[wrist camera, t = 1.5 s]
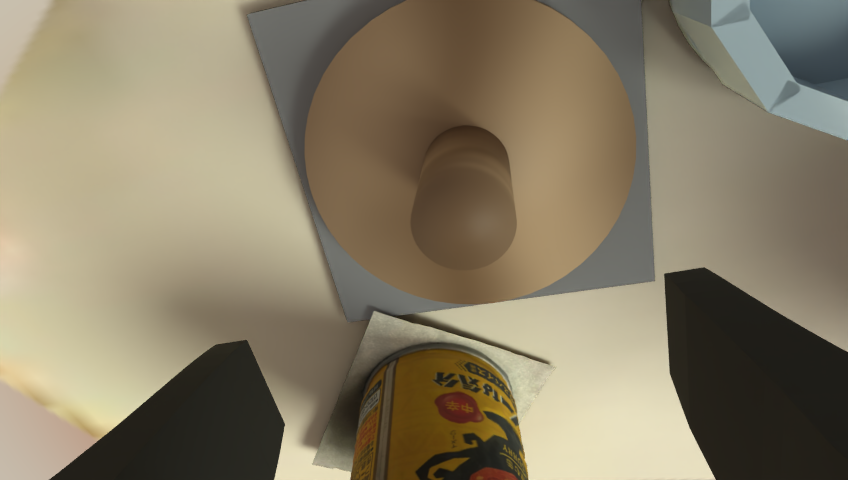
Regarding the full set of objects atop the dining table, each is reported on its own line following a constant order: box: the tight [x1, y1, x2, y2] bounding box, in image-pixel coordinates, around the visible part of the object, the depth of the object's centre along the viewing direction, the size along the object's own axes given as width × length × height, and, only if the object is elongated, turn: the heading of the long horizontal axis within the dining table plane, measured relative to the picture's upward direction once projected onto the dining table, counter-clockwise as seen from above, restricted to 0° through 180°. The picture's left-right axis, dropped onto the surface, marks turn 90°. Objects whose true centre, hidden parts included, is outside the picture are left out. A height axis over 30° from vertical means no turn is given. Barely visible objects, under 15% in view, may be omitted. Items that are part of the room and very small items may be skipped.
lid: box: [305, 0, 636, 305], centre depth 17 cm, size 10×10×5 cm
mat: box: [247, 0, 655, 322], centre depth 19 cm, size 11×11×1 cm
